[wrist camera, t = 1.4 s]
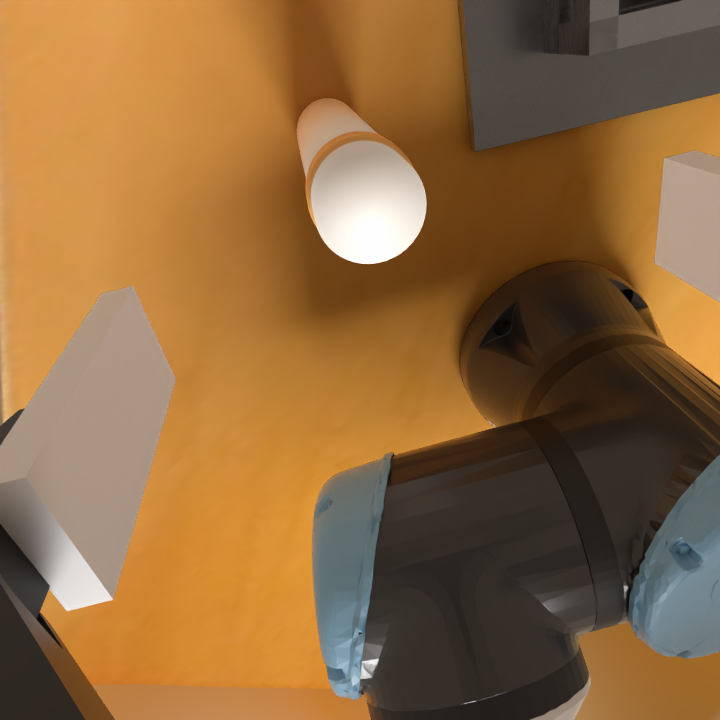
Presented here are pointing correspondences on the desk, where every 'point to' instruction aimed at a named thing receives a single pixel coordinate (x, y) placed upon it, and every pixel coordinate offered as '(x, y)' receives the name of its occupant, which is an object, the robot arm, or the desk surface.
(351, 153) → the tube
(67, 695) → the robot arm
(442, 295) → the desk surface
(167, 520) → the desk surface
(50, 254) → the desk surface
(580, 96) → the collar stand
